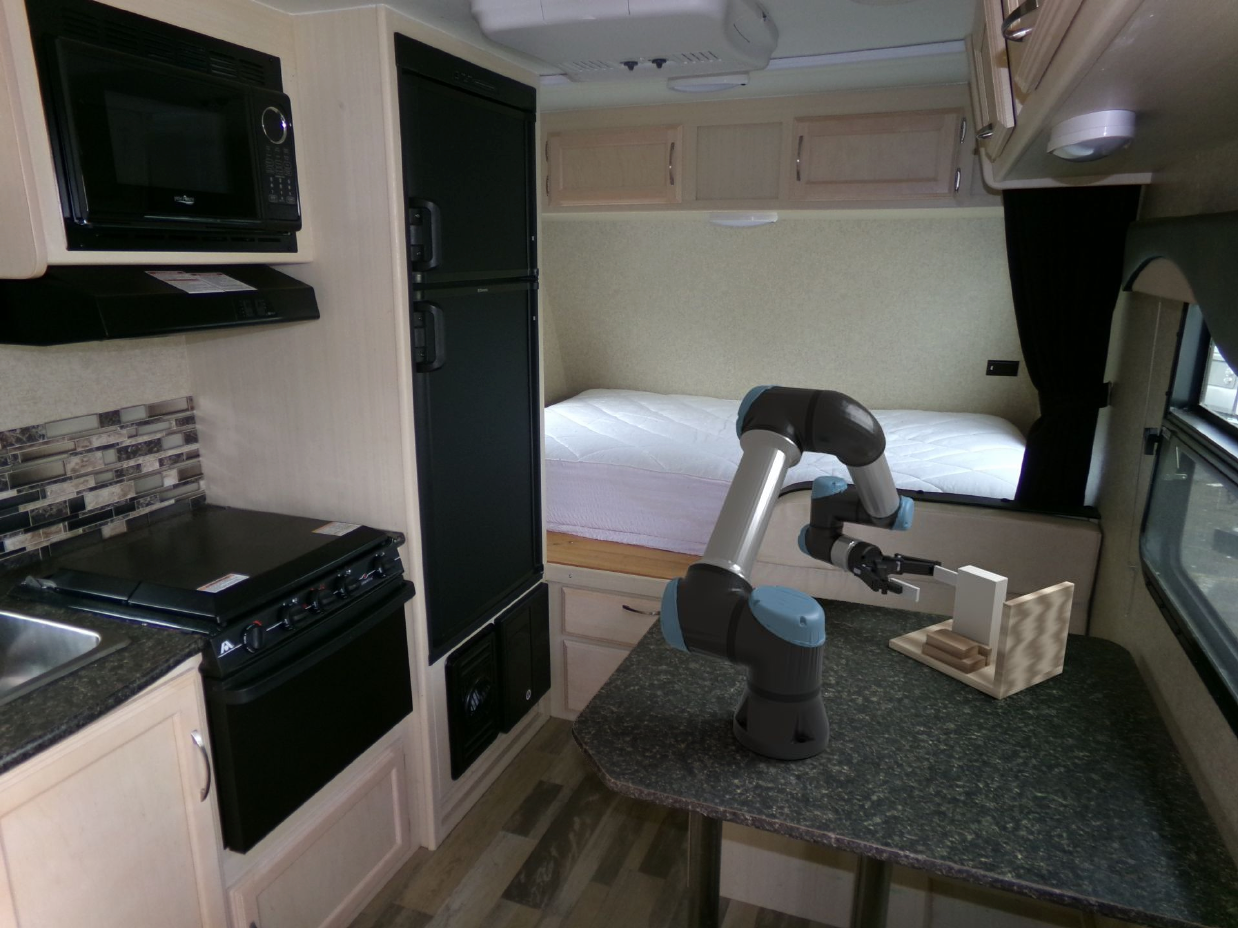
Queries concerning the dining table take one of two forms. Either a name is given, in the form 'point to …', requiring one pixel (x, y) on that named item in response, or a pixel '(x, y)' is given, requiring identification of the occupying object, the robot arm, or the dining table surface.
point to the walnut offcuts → (953, 651)
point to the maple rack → (1011, 643)
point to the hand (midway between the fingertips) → (940, 588)
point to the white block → (979, 606)
